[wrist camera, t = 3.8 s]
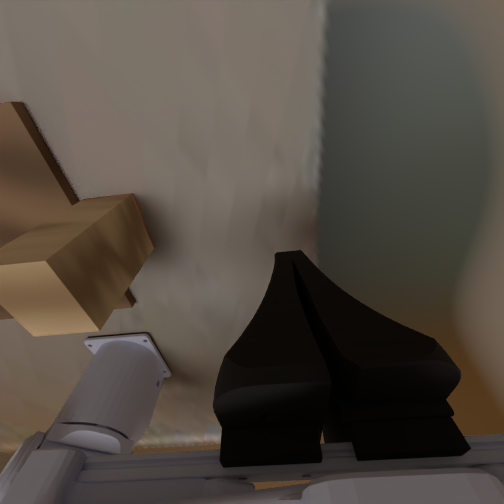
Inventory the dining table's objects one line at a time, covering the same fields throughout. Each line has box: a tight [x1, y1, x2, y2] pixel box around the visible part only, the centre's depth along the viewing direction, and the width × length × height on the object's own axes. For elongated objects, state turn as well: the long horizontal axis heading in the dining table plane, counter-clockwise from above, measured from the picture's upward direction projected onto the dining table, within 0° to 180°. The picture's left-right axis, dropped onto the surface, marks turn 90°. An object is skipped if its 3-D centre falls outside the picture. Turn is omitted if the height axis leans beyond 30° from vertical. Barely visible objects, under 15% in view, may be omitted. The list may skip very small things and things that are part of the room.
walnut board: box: [0, 102, 135, 319], centre depth 19 cm, size 18×15×1 cm
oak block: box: [0, 193, 155, 337], centre depth 15 cm, size 5×4×9 cm
